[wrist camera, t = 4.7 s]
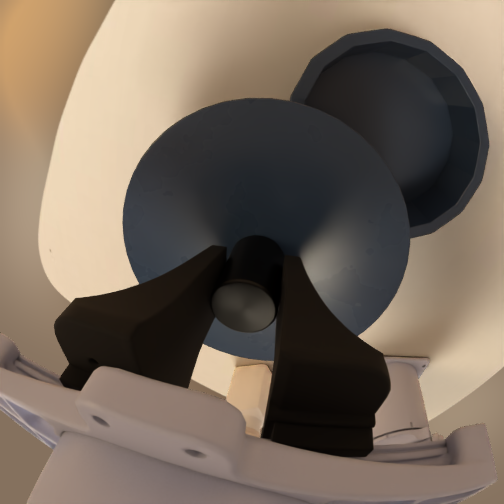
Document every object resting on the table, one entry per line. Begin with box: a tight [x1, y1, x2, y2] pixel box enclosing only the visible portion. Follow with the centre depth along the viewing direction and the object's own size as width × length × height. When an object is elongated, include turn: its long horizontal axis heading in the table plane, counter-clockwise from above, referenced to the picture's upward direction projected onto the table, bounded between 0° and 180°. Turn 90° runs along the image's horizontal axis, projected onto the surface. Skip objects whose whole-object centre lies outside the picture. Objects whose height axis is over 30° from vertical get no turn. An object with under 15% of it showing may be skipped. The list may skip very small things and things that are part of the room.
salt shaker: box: [226, 364, 272, 438], centre depth 27 cm, size 4×4×10 cm
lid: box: [123, 98, 410, 361], centre depth 12 cm, size 14×14×5 cm
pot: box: [290, 29, 489, 238], centre depth 16 cm, size 13×13×4 cm
